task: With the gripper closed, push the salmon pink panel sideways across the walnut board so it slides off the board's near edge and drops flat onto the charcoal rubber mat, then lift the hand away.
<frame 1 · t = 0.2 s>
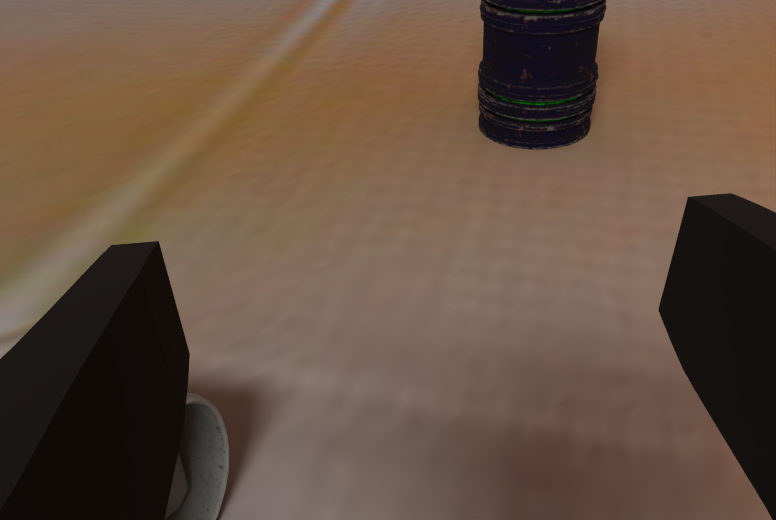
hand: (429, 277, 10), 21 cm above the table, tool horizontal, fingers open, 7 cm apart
storage jar: (533, 126, 62), on the table
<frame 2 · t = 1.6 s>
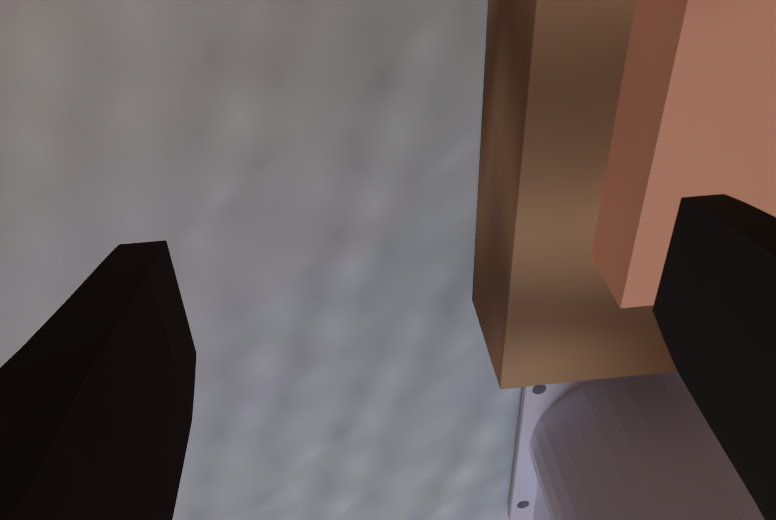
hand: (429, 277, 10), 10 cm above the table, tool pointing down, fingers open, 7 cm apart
deck: (714, 13, 18), on the table
salmon pink panel: (757, 75, 15), point 4 cm above the table, touching deck
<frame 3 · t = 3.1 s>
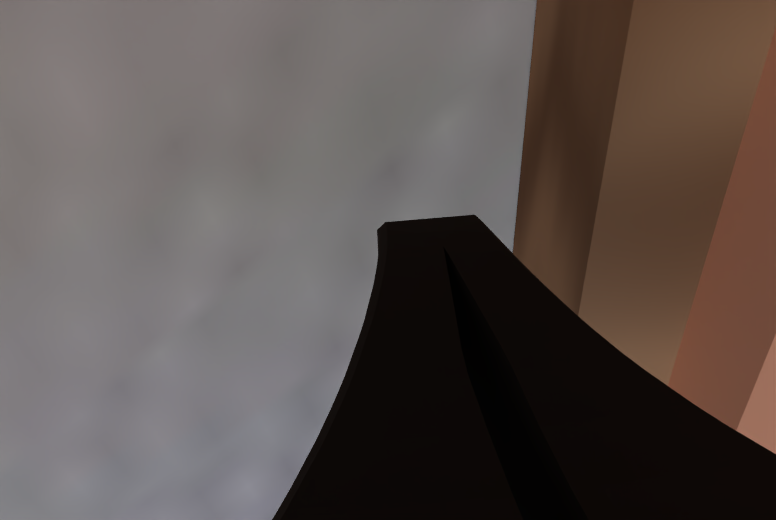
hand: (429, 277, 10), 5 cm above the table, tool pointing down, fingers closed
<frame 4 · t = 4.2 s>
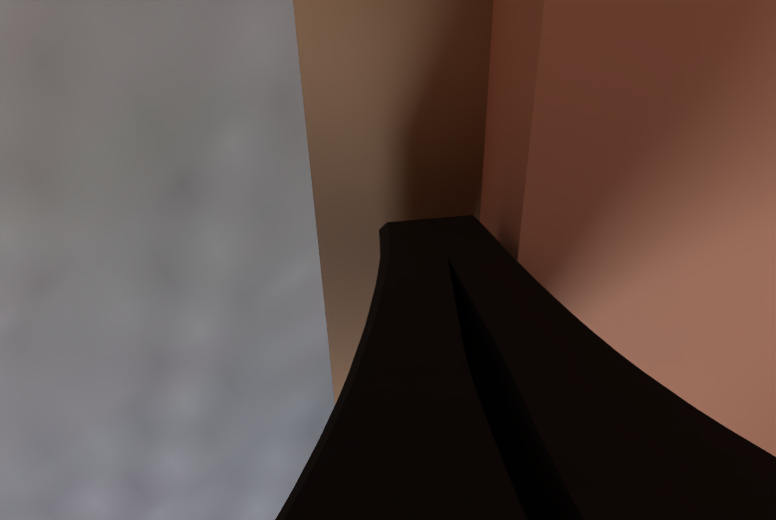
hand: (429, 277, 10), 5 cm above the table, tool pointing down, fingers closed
deck: (612, 104, 14), on the table
salmon pink panel: (670, 214, 11), point 4 cm above the table, touching deck, gripper
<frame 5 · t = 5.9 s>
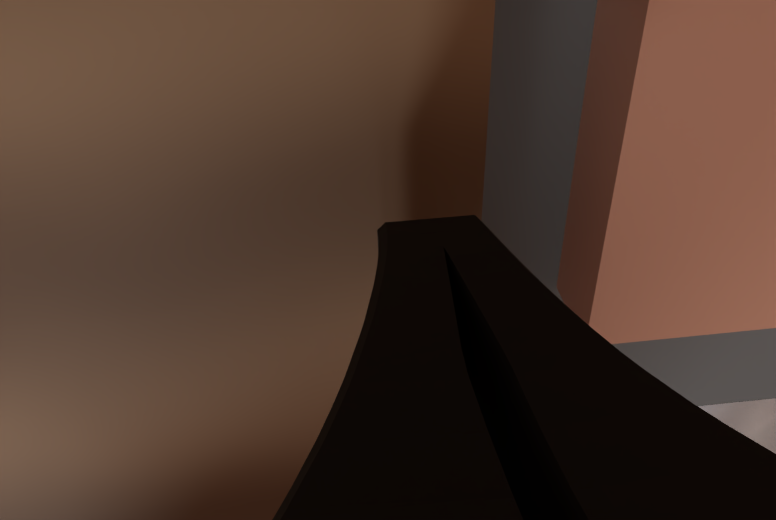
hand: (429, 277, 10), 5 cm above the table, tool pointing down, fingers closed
deck: (128, 140, 14), on the table
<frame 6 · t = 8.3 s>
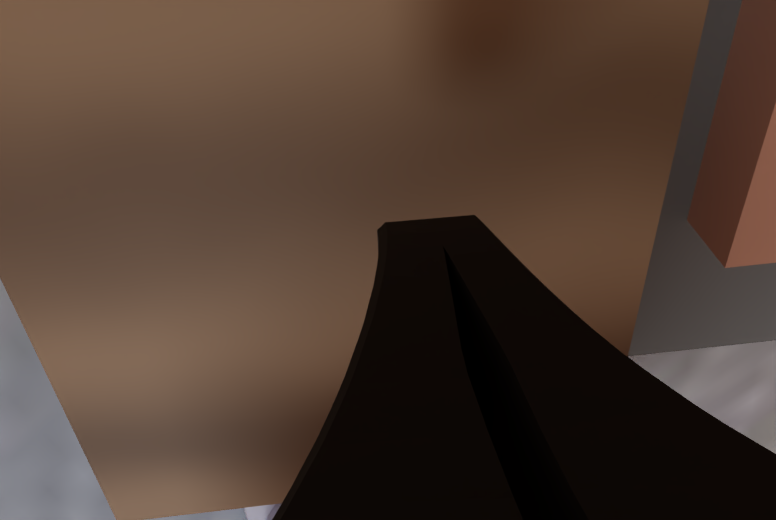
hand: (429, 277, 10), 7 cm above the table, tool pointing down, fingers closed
deck: (324, 82, 15), on the table
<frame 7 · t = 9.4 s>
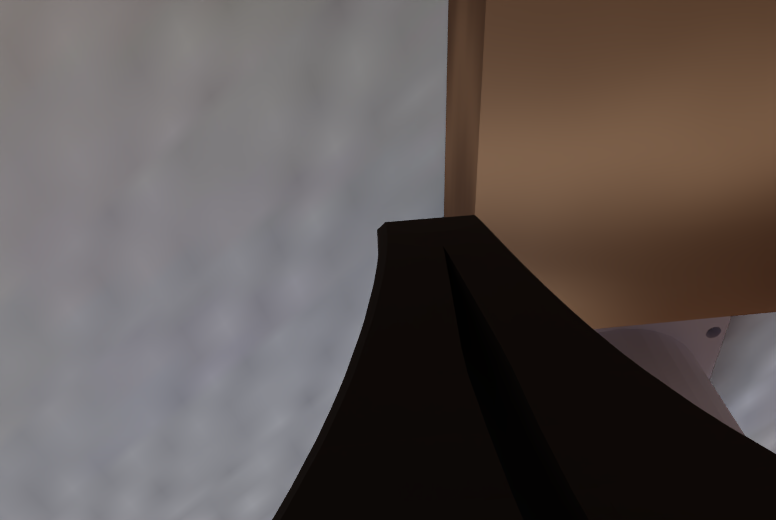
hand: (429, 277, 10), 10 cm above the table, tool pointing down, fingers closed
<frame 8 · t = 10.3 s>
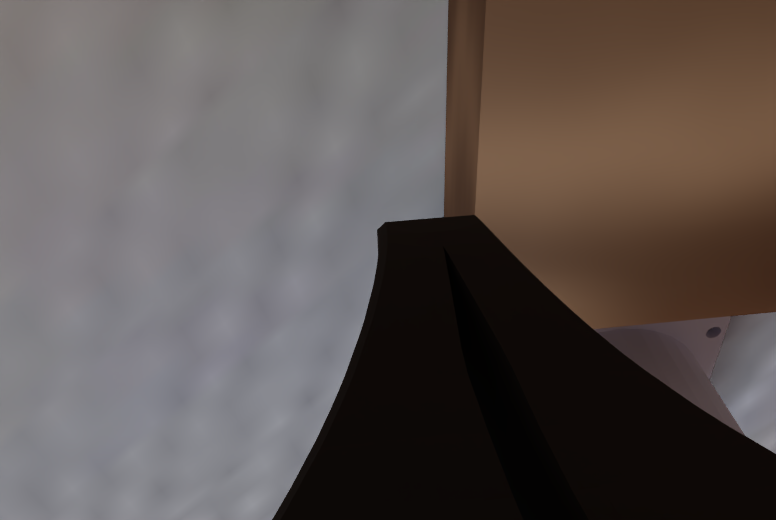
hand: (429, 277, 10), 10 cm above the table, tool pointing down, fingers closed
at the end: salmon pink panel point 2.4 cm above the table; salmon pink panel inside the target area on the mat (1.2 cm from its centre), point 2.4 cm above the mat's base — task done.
